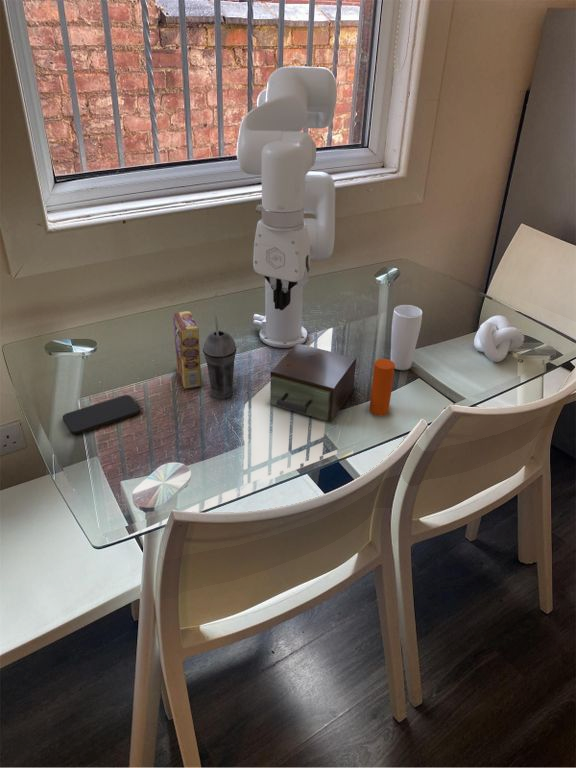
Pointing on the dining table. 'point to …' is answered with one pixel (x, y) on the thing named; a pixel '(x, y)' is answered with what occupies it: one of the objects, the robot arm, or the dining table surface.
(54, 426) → the dining table surface
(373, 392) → the roller
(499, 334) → the white knot sculpture
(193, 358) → the candy box
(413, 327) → the drinking glass
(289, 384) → the drawer
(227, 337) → the beverage cup
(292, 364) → the cabinet
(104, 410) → the phone
